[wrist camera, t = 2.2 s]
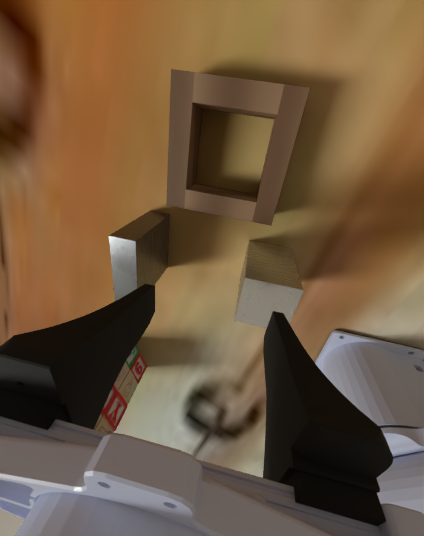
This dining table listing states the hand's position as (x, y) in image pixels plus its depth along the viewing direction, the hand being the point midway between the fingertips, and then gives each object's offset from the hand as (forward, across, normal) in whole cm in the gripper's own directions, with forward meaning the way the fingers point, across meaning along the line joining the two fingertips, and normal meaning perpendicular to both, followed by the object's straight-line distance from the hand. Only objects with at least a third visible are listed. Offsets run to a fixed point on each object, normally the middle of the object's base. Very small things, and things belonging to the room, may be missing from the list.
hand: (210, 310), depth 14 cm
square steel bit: (+10, -4, +1) cm, 11 cm away
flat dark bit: (+10, +7, +1) cm, 12 cm away
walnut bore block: (+10, +1, -8) cm, 13 cm away
